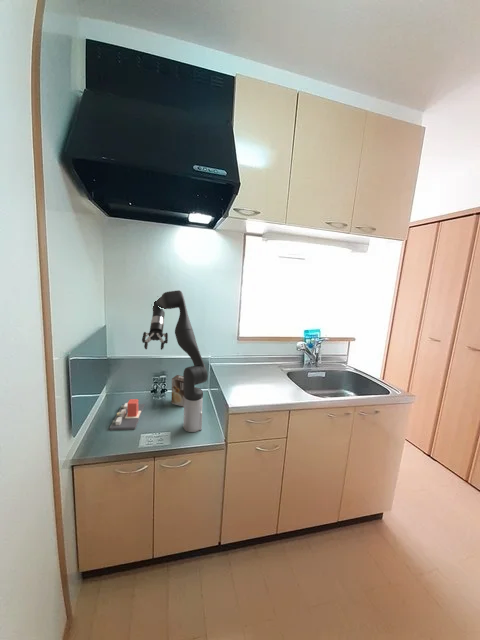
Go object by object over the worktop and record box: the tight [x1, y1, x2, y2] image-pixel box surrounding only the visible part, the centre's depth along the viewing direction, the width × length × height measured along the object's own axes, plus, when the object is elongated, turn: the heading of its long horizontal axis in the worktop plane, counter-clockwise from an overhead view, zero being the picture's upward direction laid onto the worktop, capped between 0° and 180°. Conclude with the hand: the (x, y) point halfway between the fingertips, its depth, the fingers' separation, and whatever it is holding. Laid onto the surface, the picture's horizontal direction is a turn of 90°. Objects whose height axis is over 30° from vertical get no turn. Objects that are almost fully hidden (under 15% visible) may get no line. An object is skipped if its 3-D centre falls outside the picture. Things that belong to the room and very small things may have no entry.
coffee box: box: [171, 374, 184, 408], centre depth 156 cm, size 9×6×16 cm
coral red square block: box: [126, 398, 139, 417], centre depth 140 cm, size 4×4×8 cm
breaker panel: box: [109, 402, 146, 431], centre depth 140 cm, size 12×22×3 cm, turn 8°
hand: (153, 349), depth 151 cm, fingers open, 8 cm apart
